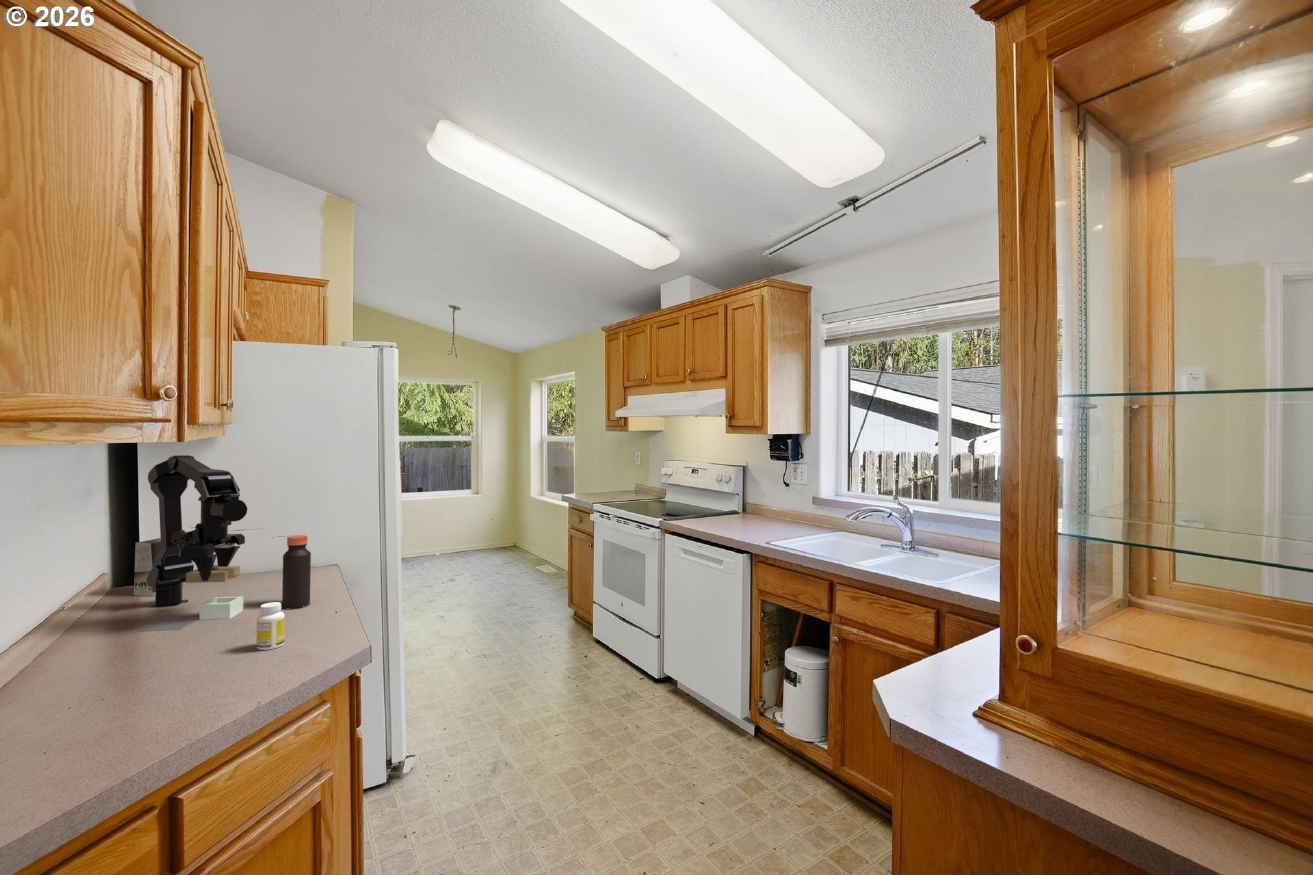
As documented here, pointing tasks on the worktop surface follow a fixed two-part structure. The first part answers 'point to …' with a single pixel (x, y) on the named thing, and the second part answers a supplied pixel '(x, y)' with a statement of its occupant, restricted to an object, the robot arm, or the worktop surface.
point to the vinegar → (296, 573)
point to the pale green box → (221, 608)
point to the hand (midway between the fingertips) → (213, 577)
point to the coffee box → (145, 565)
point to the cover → (214, 574)
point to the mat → (167, 624)
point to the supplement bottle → (270, 626)
